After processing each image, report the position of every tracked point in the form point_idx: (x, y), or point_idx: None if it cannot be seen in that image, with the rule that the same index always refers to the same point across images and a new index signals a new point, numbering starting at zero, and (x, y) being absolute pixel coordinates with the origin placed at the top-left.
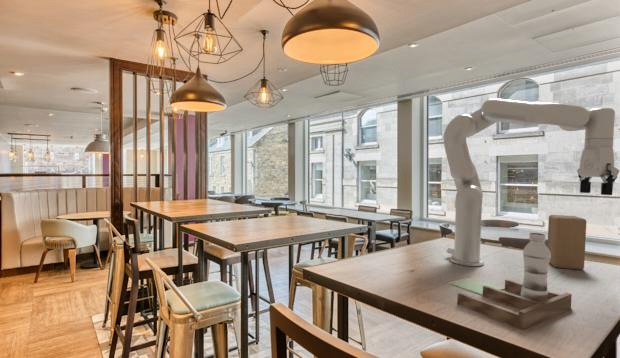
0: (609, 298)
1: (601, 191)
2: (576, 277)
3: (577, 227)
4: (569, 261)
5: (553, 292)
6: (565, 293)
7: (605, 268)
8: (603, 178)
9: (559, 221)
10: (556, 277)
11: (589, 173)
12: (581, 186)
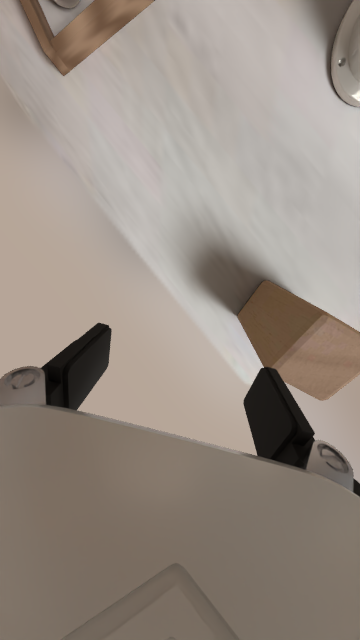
0: (114, 215)
1: (96, 329)
2: (208, 264)
3: (270, 342)
4: (252, 301)
5: (72, 36)
6: (42, 33)
7: (238, 360)
8: (15, 402)
9: (310, 312)
10: (213, 223)
11: (146, 470)
12: (281, 394)
